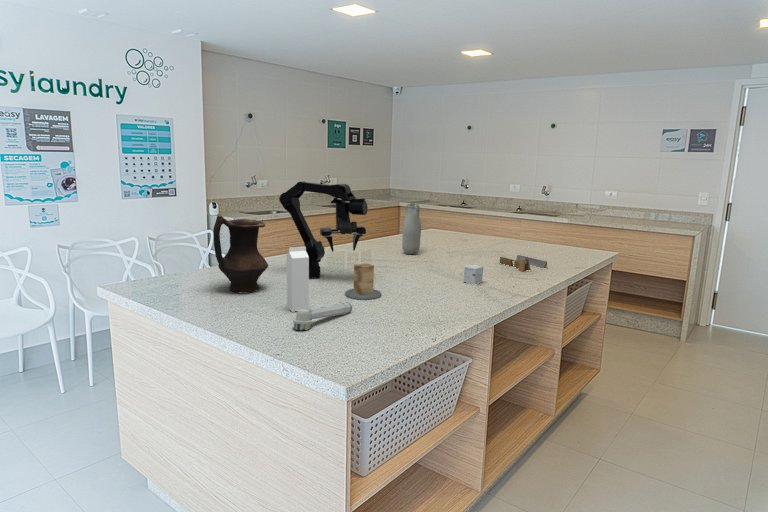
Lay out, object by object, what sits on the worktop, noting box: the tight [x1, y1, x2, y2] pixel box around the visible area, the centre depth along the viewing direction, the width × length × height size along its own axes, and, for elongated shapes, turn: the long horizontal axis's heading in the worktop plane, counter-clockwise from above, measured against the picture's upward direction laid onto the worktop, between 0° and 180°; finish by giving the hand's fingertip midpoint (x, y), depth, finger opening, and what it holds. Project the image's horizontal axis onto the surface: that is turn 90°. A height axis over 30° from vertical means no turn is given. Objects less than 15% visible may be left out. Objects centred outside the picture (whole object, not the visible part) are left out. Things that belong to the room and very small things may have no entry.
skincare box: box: [463, 264, 484, 285], centre depth 222 cm, size 6×6×7 cm
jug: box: [212, 214, 269, 293], centre depth 197 cm, size 21×18×30 cm
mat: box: [344, 288, 382, 301], centre depth 198 cm, size 14×14×1 cm
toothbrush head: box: [292, 301, 353, 331], centre depth 166 cm, size 5×7×25 cm
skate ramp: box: [499, 253, 548, 272], centre depth 256 cm, size 29×35×8 cm
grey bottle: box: [401, 202, 422, 255], centre depth 280 cm, size 10×10×28 cm
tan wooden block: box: [353, 262, 375, 296], centre depth 197 cm, size 5×5×11 cm
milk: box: [285, 245, 310, 313], centre depth 176 cm, size 6×6×22 cm
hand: (343, 251), depth 217 cm, fingers open, 9 cm apart
